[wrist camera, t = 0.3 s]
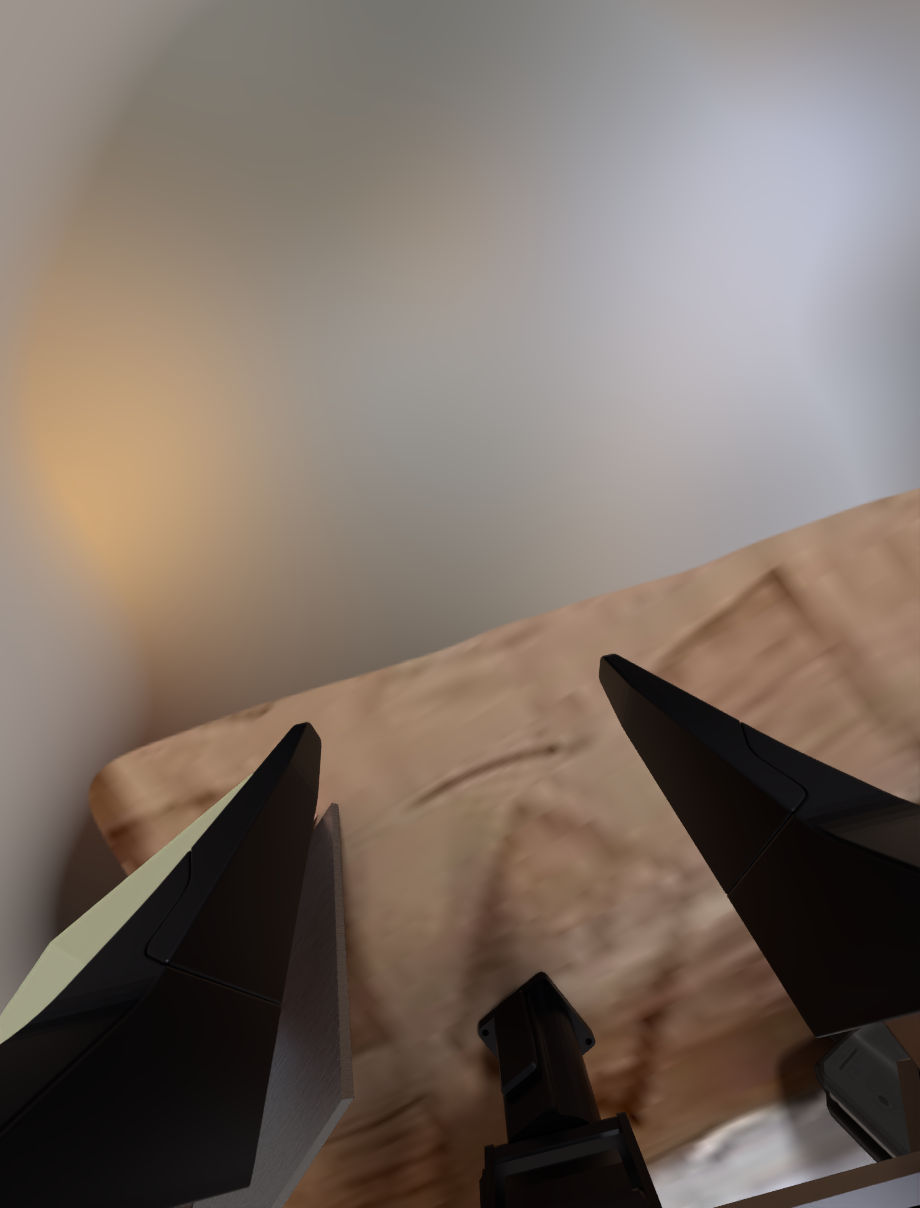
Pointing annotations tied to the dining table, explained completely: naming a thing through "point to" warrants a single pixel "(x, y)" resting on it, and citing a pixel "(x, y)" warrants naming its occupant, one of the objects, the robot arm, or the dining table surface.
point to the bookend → (306, 1036)
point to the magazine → (866, 1089)
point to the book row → (99, 926)
